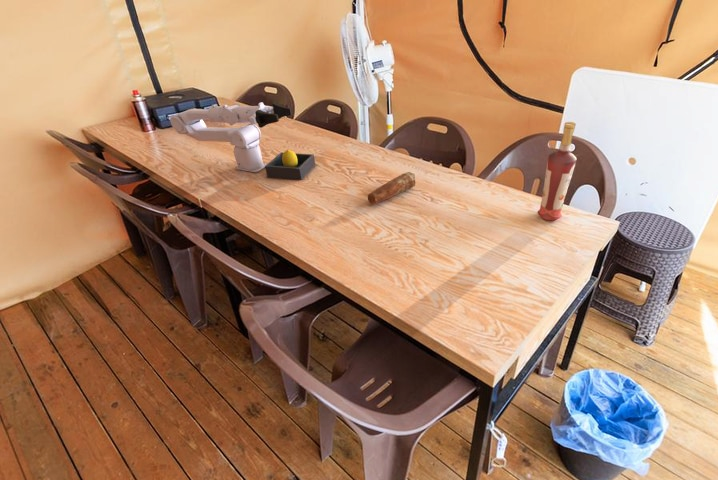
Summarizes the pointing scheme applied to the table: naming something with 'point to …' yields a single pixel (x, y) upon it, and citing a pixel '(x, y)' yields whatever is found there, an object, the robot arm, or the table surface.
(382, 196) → the brown cylinder
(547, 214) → the liquor
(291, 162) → the lemon
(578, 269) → the table surface
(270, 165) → the bin
